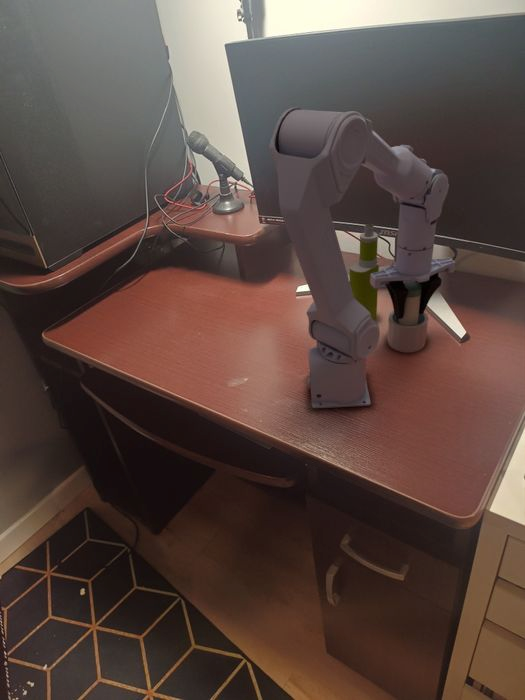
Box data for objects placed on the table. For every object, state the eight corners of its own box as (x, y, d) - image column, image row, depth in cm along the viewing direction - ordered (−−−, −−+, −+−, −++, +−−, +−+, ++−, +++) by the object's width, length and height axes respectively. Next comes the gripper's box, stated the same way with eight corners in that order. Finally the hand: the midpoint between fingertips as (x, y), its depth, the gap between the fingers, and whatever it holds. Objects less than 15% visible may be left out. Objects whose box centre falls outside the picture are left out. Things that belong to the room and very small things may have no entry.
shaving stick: (403, 329, 83) (406, 292, 79) (394, 319, 86) (397, 283, 81) (421, 324, 83) (425, 288, 79) (412, 315, 86) (416, 279, 82)
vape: (379, 318, 94) (384, 224, 83) (360, 330, 92) (362, 235, 80) (365, 311, 97) (368, 220, 85) (346, 323, 94) (346, 230, 82)
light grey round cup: (391, 353, 85) (392, 329, 82) (384, 332, 90) (386, 308, 87) (429, 351, 84) (432, 326, 81) (420, 330, 90) (423, 306, 86)
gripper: (384, 262, 71) (380, 333, 80) (470, 244, 73) (457, 316, 81) (366, 244, 77) (364, 313, 85) (446, 228, 79) (437, 297, 87)
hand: (408, 313), depth 84 cm, fingers closed on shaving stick, 3 cm apart
